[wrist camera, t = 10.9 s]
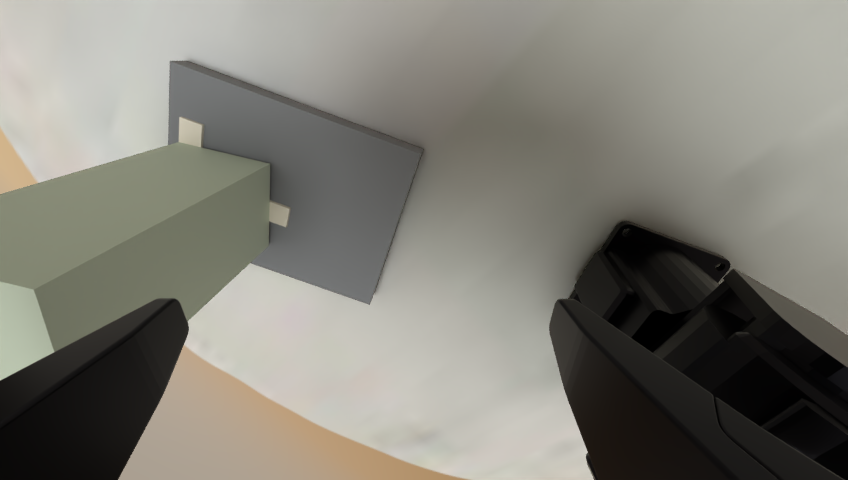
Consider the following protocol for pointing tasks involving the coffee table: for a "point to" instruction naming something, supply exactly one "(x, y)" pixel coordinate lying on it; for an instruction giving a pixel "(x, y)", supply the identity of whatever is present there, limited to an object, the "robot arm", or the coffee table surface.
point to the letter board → (303, 176)
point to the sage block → (124, 243)
